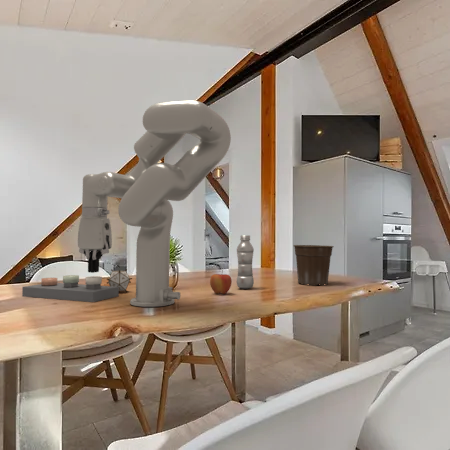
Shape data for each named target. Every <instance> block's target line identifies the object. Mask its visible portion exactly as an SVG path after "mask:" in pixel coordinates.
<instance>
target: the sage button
mask: <svg viewBox="0 0 450 450" xmlns="http://www.w3.org/2000/svg"><path fill="white" fill-rule="evenodd" d="M62 283H64V288H74V287H78V284H79V283H80V275H78V274H76V275H75V274H70V275H68V274H67V275H62Z"/></svg>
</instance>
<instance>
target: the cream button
mask: <svg viewBox="0 0 450 450" xmlns="http://www.w3.org/2000/svg"><path fill="white" fill-rule="evenodd" d="M102 279H103V278H102V276H95V275H93V276H86V277H85V284H84V285H86V289H93V290H95V289H100V288H101V286H102V284H103V283H102V281H103V280H102Z"/></svg>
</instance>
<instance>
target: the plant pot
mask: <svg viewBox="0 0 450 450" xmlns="http://www.w3.org/2000/svg"><path fill="white" fill-rule="evenodd" d="M293 248H294V254H295V259H296V260H295V261H296V272H297V283H298V284H300V283H301V285H304V284H309V285H308V286H318V284H320V285H319V286H325V285H324V284H327V285H329V274H330V265H331V256H332V254H333V248H334V246H333V245H316V244H294V245H293Z"/></svg>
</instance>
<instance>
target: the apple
mask: <svg viewBox="0 0 450 450" xmlns="http://www.w3.org/2000/svg"><path fill="white" fill-rule="evenodd" d="M223 272H224V270H221V273H216V274H215V273H214V274H212V275H211V276H210V279H209V283H210V289H211V290H212V291H213V292H214V294H215V295H219V294H222V295H226V294H227V293H228V292H229V291H230V289H231V286H232V278H231V276H230V275H229V274H227V273H226V274H225V273H224V274H223Z"/></svg>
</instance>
